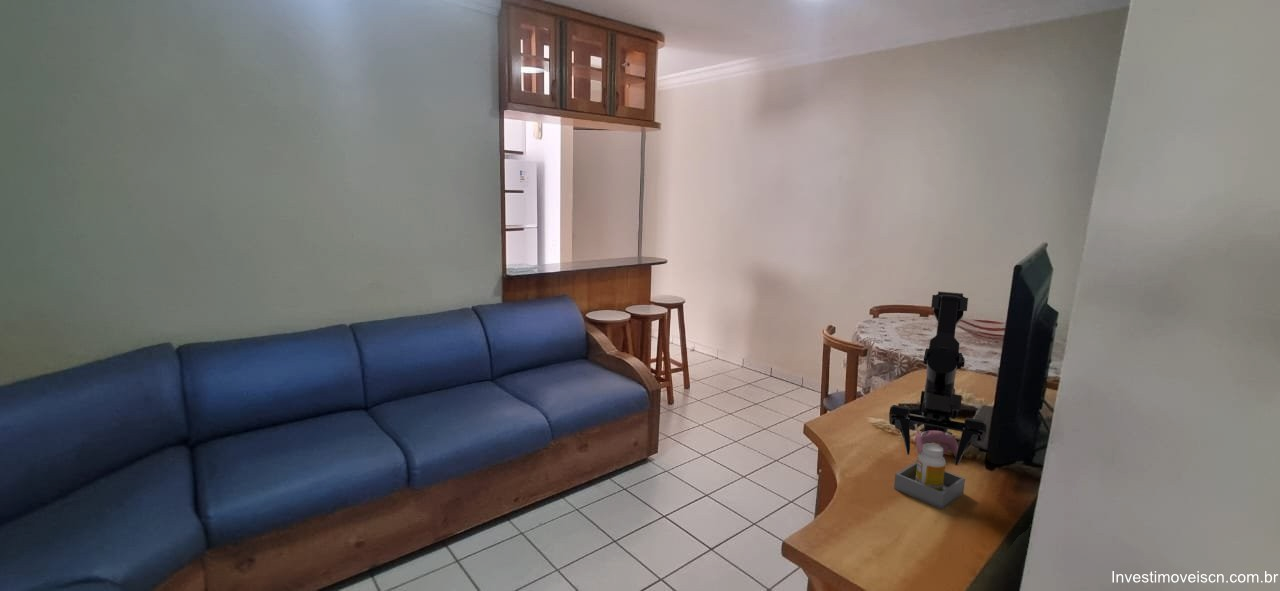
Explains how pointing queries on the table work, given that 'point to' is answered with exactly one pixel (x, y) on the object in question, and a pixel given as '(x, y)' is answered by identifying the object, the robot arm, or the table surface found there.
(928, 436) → the video game controller
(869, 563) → the table surface
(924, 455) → the supplement bottle
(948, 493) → the trough tray
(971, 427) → the robot arm
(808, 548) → the table surface
